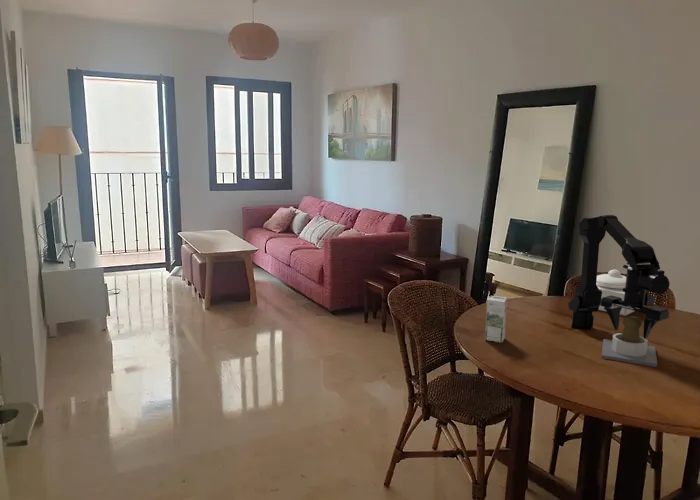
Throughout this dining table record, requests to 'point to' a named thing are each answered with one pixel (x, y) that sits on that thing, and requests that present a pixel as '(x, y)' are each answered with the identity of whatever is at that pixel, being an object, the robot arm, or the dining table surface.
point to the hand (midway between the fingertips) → (630, 333)
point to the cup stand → (629, 351)
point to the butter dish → (613, 287)
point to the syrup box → (496, 319)
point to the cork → (631, 329)
